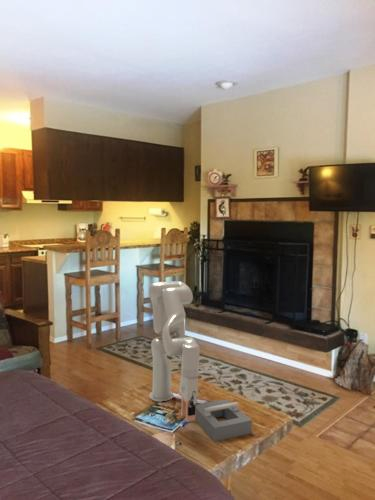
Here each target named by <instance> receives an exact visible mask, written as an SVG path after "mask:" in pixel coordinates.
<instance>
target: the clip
mask: <svg viewBox="0 0 375 500" xmlns="http://www.w3.org/2000/svg"><path fill="white" fill-rule="evenodd" d="M191 399H193V398H191ZM191 403H193V401H191ZM188 407H189V401H186V400H185V399H184V397H183V396H182V395H181V407H180V410H181V411H180V415H181V417H185V422H186V423H188V422H190V423H191V422H194V421H195V415H191V416H188ZM195 413H196V407H195ZM195 422H196V421H195Z"/></svg>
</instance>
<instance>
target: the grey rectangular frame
mask: <svg viewBox="0 0 375 500" xmlns="http://www.w3.org/2000/svg"><path fill="white" fill-rule="evenodd" d="M221 417H224V418H225V420H221V421H219V420H218V419H217V418H221ZM195 422H196V423H197V424H198V425H199V426H200V427H201V429H202V430H204V432H205V433H206V434H207V435H208V436H209V438H210V439H212V441H213V442H219V441H223V440H227V439H232V438H236V437H241V436H245V435H249V434H250V435H251V434H252V426H253V425H252V419H250V417H249V416H248V415H247V414H245V413H244V412H243V411H241V410H240V409H239V402H238V401H234V402H231V401H230V400H229V399H228V398H226V399H221V400H220V399H219V400H214V401H210V402H209V401H208V402H204V403H203V402H202V403H199V404H198V403H197V404H196V413H195Z"/></svg>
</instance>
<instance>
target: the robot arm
mask: <svg viewBox="0 0 375 500" xmlns="http://www.w3.org/2000/svg"><path fill="white" fill-rule="evenodd" d="M148 294H149V295H148V296H149V299H150V300H149V301H150V303H151V306H152V315H153V316H152V317H153V318H152V319H153V320H152V322H153V325H152V326H153V330H154V332H155V334H158V335H161V336H158V337H157V336H156V337H155V338H154V337H153V339H152V341H151V343H150V347H151V348H150V349H151V354H152V388H151V390H152V391H150V392H149V394H148V395H149V396H148V397H149V399H150V400H151V401H154V402H158V403H159V402H160V403H163V402H162V401H166V402H168V401H167V400H169V401H171V400H173V399H174V395H175V394H174V392H172V362H171V360H170V358H168V356H169V357H176V356H181V359H180V360H181V365H180V367H181V368H180V377H179V378H180V379H179V389H178V390H179V394H180V396H181V397H182V396H183V397H184V399H185V400H186V401H189V407H188V416H191V415H195V407H196V405H197V404H198V403H199V402H198V397H199V381H198V377H199V372H200V371H199V369H200V367H199V365H200V345H199V344H198V343H197V341H196V340H195V338H194V337H191V336H187V337H186V329H185V327H186V325H185V321H184V320H185V319H186V311H185V308H184V305H188V304H189V305H190V304H191V303H192V302H193V299H194V296H193V291H192V289H191V288H190V287H189V286H188V285H187V284H186V283H184V282H183V281H180V280H171V281H156V282H152V283H151V284H150V285H149V288H148ZM170 334H173V335H170ZM172 398H173V399H172ZM191 398H193V399H191ZM170 399H171V400H170ZM191 401H193V403H191Z"/></svg>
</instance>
